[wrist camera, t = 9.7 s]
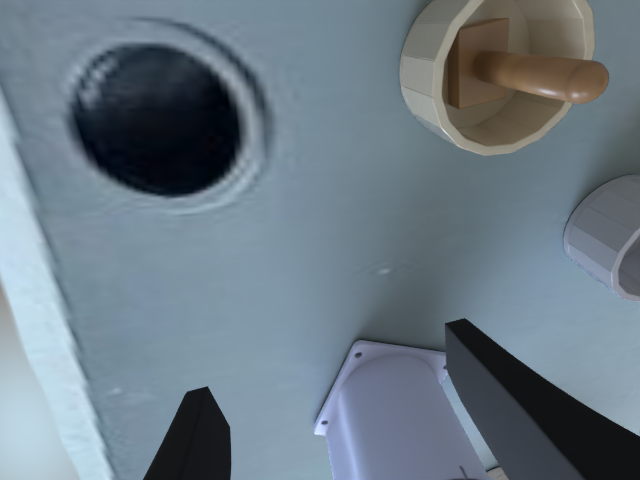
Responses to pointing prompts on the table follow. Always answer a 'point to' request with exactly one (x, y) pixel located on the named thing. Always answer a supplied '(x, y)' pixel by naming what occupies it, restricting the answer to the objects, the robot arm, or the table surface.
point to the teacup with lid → (497, 474)
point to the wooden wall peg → (514, 69)
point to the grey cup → (608, 236)
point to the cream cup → (518, 106)
